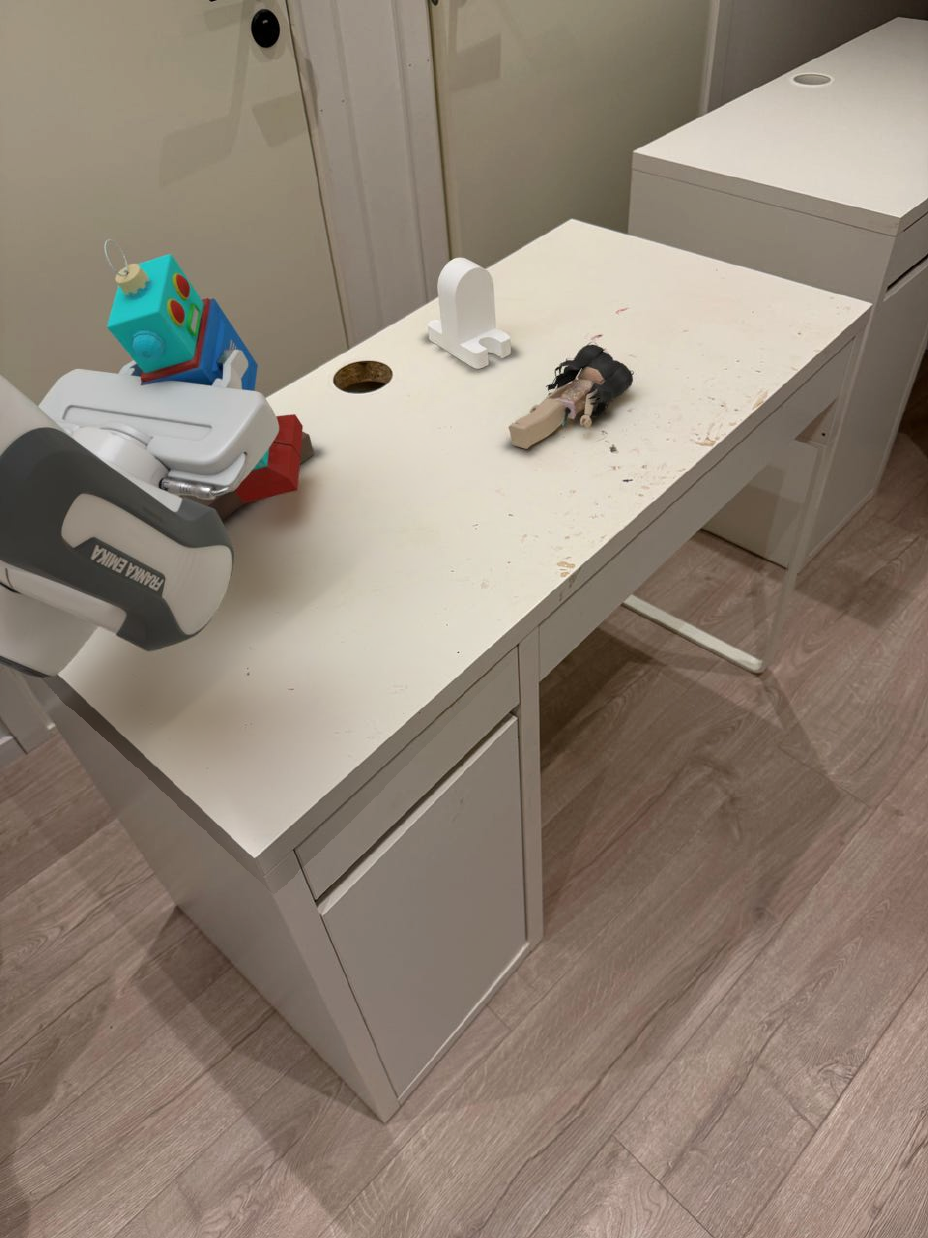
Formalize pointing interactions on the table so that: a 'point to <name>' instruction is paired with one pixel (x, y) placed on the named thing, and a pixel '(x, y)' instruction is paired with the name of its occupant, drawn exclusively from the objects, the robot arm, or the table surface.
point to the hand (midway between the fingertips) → (201, 351)
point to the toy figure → (574, 395)
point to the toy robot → (194, 355)
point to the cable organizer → (467, 314)
